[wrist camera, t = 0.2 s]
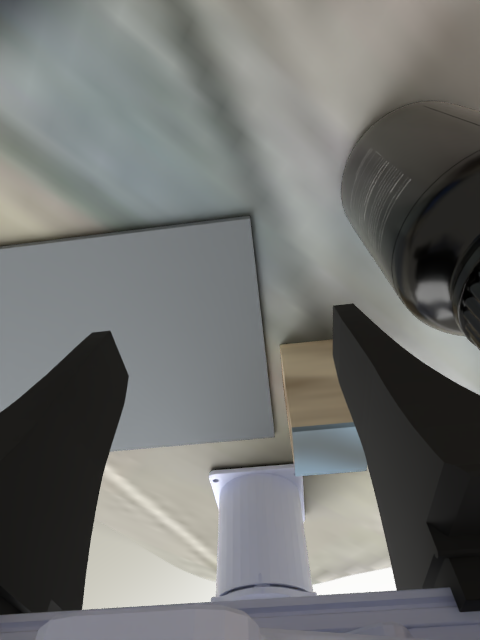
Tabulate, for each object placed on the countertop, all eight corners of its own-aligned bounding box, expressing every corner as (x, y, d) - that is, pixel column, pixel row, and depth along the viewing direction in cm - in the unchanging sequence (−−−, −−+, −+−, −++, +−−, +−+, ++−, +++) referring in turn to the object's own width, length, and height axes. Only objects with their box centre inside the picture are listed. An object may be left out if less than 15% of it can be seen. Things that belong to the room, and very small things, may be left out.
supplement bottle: (394, 263, 22) (518, 441, 12) (310, 185, 20) (383, 335, 10) (509, 166, 19) (792, 302, 9) (427, 59, 16) (702, 93, 7)
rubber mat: (274, 432, 31) (274, 437, 31) (9, 456, 32) (7, 460, 32) (249, 215, 20) (249, 218, 20) (-142, 264, 22) (-148, 267, 21)
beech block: (339, 381, 28) (366, 470, 22) (283, 387, 28) (295, 476, 22) (341, 338, 25) (371, 425, 20) (279, 344, 26) (292, 432, 20)
